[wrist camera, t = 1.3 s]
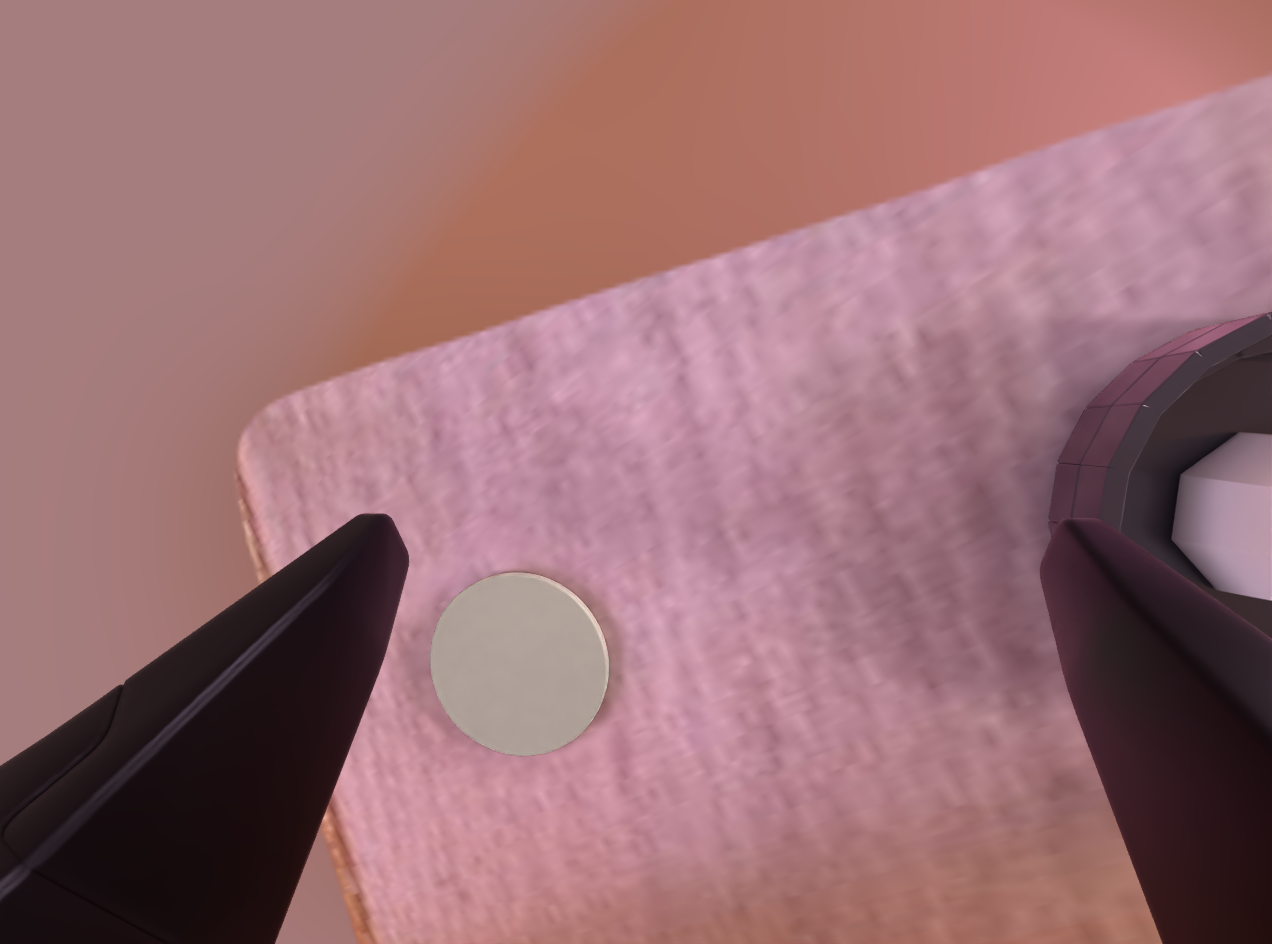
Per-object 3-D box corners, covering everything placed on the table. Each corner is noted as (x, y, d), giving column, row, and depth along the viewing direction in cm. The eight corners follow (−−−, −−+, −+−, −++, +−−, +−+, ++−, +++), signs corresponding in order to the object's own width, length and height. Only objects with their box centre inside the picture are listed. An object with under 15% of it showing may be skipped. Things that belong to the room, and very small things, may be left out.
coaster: (647, 662, 24) (645, 667, 24) (528, 787, 25) (524, 793, 25) (512, 534, 25) (507, 536, 24) (401, 661, 26) (394, 665, 26)
